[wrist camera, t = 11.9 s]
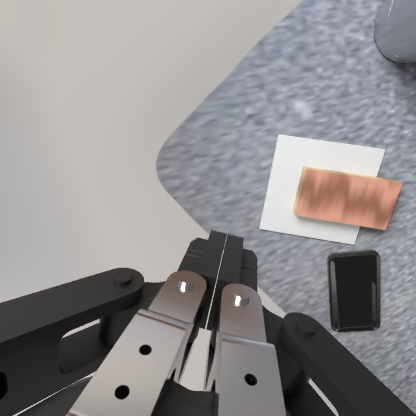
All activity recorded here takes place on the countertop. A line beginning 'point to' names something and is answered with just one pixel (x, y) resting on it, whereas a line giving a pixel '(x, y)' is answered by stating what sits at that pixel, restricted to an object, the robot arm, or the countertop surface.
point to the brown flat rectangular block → (346, 197)
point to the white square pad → (290, 176)
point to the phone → (354, 290)
